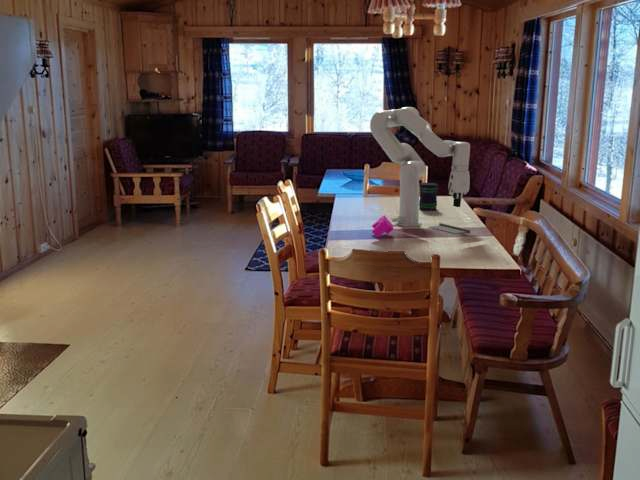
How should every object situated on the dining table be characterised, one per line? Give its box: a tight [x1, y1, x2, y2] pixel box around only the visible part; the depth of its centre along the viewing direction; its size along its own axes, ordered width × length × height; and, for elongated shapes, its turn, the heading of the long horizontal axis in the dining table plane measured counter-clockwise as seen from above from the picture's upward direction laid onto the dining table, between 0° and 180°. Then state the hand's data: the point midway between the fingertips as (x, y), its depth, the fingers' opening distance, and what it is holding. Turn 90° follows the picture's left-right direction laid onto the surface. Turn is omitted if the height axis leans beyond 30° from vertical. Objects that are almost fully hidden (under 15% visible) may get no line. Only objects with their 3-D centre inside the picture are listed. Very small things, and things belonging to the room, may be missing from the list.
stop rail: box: [438, 222, 471, 234], centre depth 309 cm, size 1×20×1 cm, turn 32°
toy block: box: [371, 214, 394, 238], centre depth 295 cm, size 15×6×8 cm
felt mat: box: [428, 224, 467, 235], centre depth 307 cm, size 7×18×1 cm, turn 32°
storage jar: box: [419, 182, 439, 212], centre depth 359 cm, size 10×10×15 cm
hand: (456, 206), depth 308 cm, fingers closed
